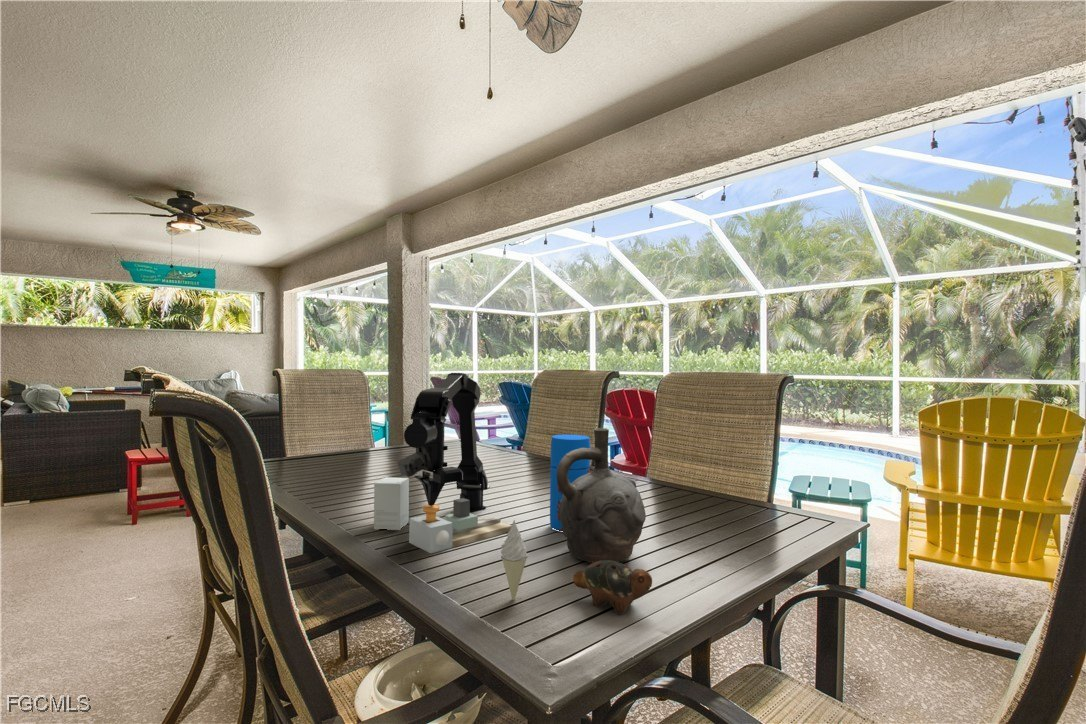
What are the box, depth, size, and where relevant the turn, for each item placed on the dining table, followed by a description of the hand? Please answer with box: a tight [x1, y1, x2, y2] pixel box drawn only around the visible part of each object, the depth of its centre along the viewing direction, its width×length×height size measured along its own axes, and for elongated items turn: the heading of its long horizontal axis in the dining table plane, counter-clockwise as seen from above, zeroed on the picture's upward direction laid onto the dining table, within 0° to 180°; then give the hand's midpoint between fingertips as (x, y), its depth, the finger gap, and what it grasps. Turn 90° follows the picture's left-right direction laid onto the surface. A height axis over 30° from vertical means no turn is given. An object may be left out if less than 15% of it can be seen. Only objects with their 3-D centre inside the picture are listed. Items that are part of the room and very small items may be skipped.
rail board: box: [452, 516, 512, 548], centre depth 135 cm, size 19×10×3 cm, turn 134°
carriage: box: [444, 498, 479, 531], centre depth 132 cm, size 6×6×6 cm
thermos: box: [549, 434, 591, 531], centre depth 142 cm, size 11×11×25 cm
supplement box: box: [373, 476, 410, 531], centre depth 140 cm, size 7×7×13 cm
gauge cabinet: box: [408, 514, 453, 554], centre depth 126 cm, size 6×10×6 cm, turn 44°
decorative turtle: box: [572, 560, 653, 615], centre depth 95 cm, size 10×15×8 cm, turn 67°
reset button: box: [422, 504, 440, 524], centre depth 126 cm, size 4×4×4 cm
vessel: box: [557, 427, 647, 564], centre depth 119 cm, size 24×22×30 cm
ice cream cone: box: [500, 520, 528, 601], centre depth 97 cm, size 5×5×15 cm
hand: (431, 505), depth 126 cm, fingers closed
